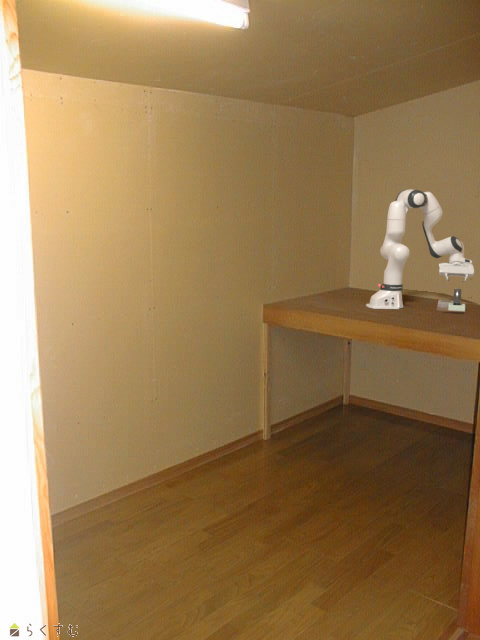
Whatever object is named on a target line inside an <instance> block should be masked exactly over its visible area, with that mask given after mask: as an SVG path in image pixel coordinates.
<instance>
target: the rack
mask: <svg viewBox="0 0 480 640" xmlns="http://www.w3.org/2000/svg"><path fill="white" fill-rule="evenodd" d="M465 309H466V303H460V305H453V303H449V306H448V310H453V311H452V312H461V311H465Z"/></svg>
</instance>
